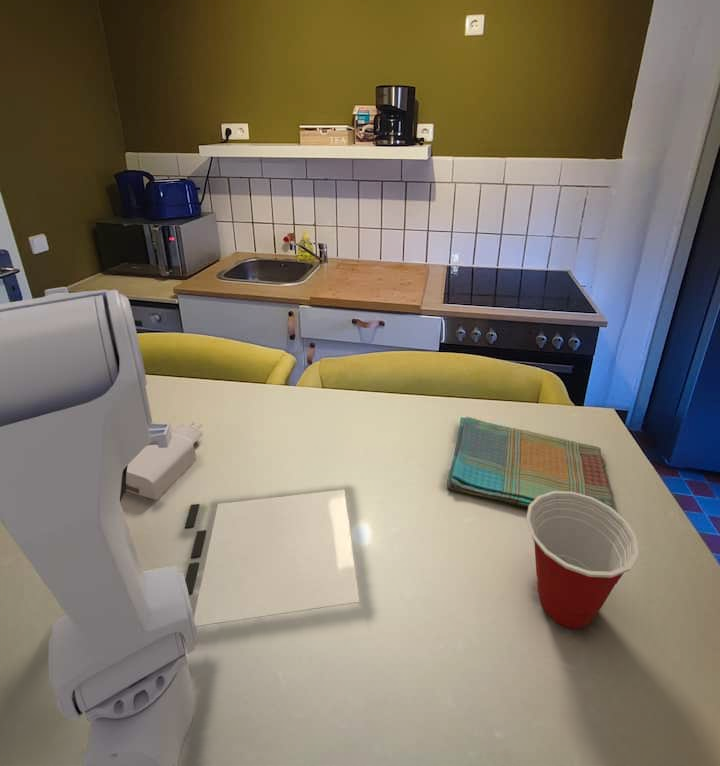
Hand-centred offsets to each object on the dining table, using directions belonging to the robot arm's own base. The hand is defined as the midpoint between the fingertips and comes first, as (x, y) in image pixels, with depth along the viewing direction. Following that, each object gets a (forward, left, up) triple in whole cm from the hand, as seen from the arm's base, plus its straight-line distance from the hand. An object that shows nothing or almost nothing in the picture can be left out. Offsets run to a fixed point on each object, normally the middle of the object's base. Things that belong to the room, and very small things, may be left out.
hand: (117, 496), depth 52 cm
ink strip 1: (+5, -6, -10) cm, 12 cm away
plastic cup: (-13, -52, -11) cm, 55 cm away
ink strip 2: (0, -9, -10) cm, 13 cm away
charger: (+17, 0, -11) cm, 20 cm away
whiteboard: (-2, -19, -10) cm, 22 cm away
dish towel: (+7, -58, -11) cm, 59 cm away
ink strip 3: (-5, -9, -10) cm, 14 cm away
